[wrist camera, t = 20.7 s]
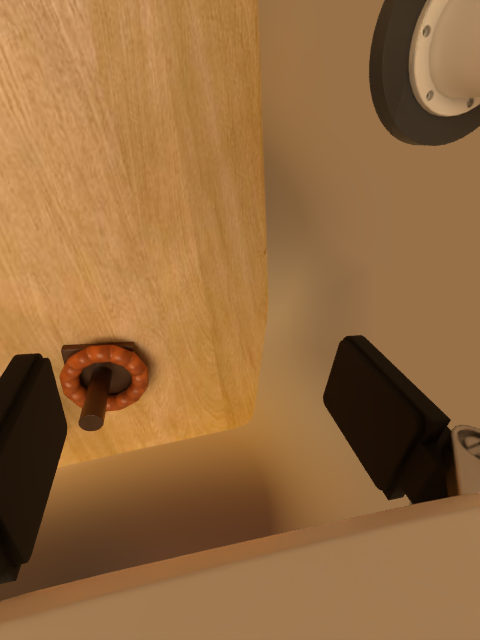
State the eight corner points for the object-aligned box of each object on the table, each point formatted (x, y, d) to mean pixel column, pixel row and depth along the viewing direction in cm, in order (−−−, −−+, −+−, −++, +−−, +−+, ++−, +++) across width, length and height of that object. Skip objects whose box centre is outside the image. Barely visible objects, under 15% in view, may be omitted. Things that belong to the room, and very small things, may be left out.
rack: (133, 341, 39) (128, 391, 31) (137, 389, 43) (134, 443, 35) (62, 345, 37) (39, 399, 29) (74, 394, 41) (56, 453, 33)
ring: (145, 339, 38) (145, 349, 36) (150, 399, 43) (149, 410, 41) (55, 344, 35) (50, 354, 34) (71, 407, 40) (67, 418, 39)
